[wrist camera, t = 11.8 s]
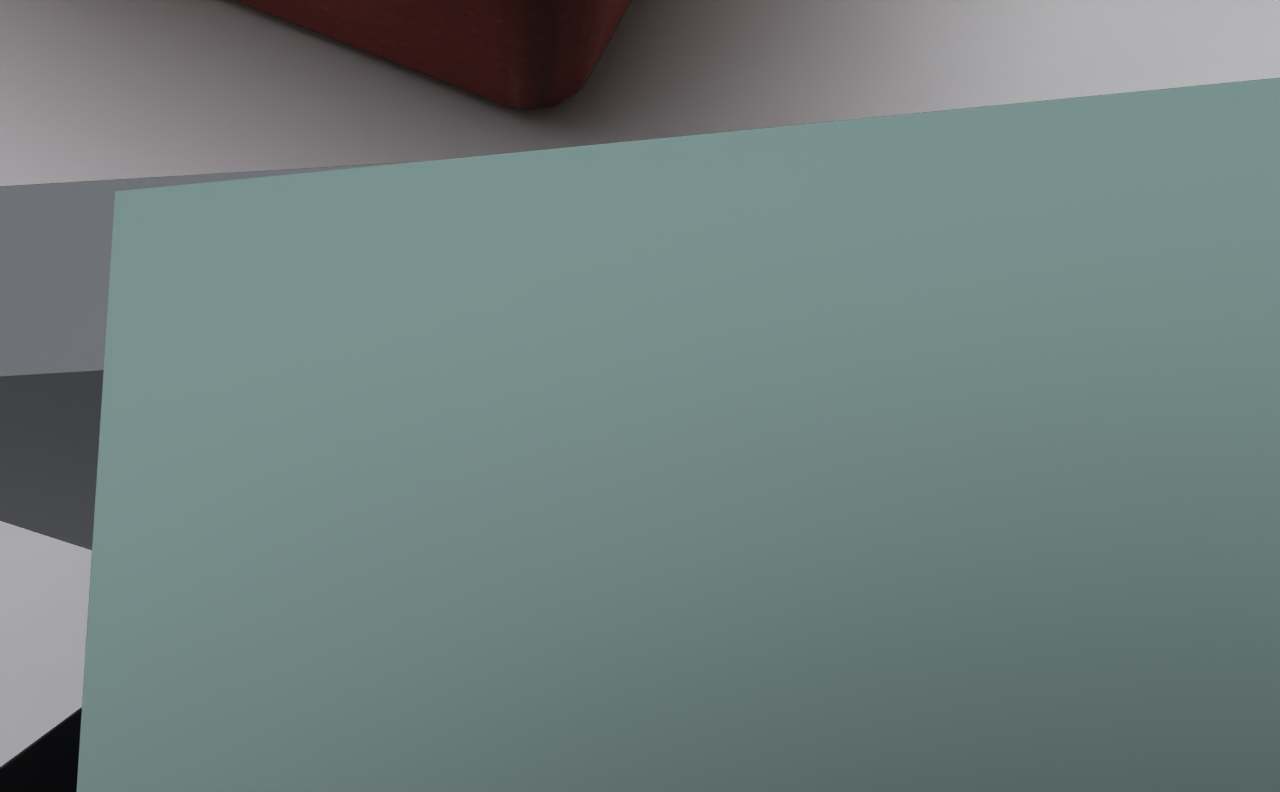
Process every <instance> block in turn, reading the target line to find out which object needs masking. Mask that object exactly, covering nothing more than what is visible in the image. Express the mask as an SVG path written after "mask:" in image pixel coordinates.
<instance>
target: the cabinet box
mask: <svg viewBox="0 0 1280 792" xmlns="http://www.w3.org/2000/svg"><path fill="white" fill-rule="evenodd" d="M77 792H1280V78H1272V79H1261V80H1251V81H1241V82H1231V83H1220V84H1210V85H1200V86H1190V87H1180V88H1169V89H1159V90H1149V91H1139V92H1128V93H1118V94H1108V95H1098V96H1087V97H1077V98H1067V99H1057V100H1046V101H1036V102H1026V103H1016V104H1005V105H995V106H985V107H975V108H965V109H954V110H944V111H934V112H924V113H913V114H903V115H893V116H883V117H872V118H862V119H852V120H842V121H831V122H821V123H811V124H801V125H790V126H780V127H770V128H760V129H750V130H739V131H729V132H719V133H709V134H698V135H688V136H678V137H668V138H657V139H647V140H637V141H627V142H616V143H606V144H596V145H586V146H576V147H565V148H555V149H545V150H535V151H524V152H514V153H504V154H494V155H483V156H473V157H463V158H453V159H442V160H432V161H422V162H412V163H401V164H391V165H381V166H371V167H361V168H350V169H340V170H330V171H320V172H309V173H299V174H289V175H279V176H268V177H258V178H248V179H238V180H227V181H217V182H207V183H197V184H186V185H176V186H166V187H156V188H146V189H135V190H125V191H115V203H114V218H113V234H112V249H111V265H110V280H109V296H108V311H107V327H106V342H105V358H104V373H103V389H102V404H101V420H100V435H99V451H98V466H97V482H96V497H95V513H94V528H93V544H92V559H91V575H90V590H89V606H88V621H87V637H86V652H85V668H84V683H83V699H82V714H81V730H80V745H79V761H78V776H77Z"/></svg>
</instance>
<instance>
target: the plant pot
mask: <svg viewBox="0 0 1280 792" xmlns="http://www.w3.org/2000/svg"><path fill="white" fill-rule="evenodd" d="M236 1H239V2H242V3H244V4H247V5H249V6H252V7H255V8H257V9H260V10H262V11H265V12H267V13H270V14H273V15H275V16H278V17H280V18H283V19H285V20H288V21H290V22H293V23H296V24H298V25H301V26H303V27H306V28H308V29H311V30H314V31H316V32H319V33H321V34H324V35H326V36H329V37H331V38H334V39H337V40H339V41H342V42H344V43H347V44H349V45H352V46H354V47H357V48H360V49H362V50H365V51H367V52H370V53H372V54H375V55H377V56H380V57H383V58H385V59H388V60H391V61H393V62H396V63H399V64H402V65H404V66H407V67H410V68H413V69H415V70H418V71H420V72H423V73H425V74H428V75H430V76H433V77H435V78H438V79H440V80H443V81H445V82H448V83H450V84H453V85H456V86H458V87H461V88H463V89H466V90H468V91H471V92H474V93H476V94H479V95H481V96H484V97H486V98H489V99H492V100H494V101H497V102H499V103H502V104H504V105H507V106H512V107H518V108H524V109H530V110H533V109H540V108H547V107H554V106H556V105H557V104H559V103H560V102H562V101H563V100H565V99H566V98H568V97H569V96H571V95H573V94H574V93H576V92H577V91H578V90H579V89H580V88H581V87H582V86H583V85H584V83H585V82H586V80H587V79H588V77H589V76H590V74H591V73H592V71H593V69H594V67H595V66H596V64H597V62H598V60H599V58H600V57H601V55H602V53H603V51H604V49H605V47H606V46H607V44H608V42H609V40H610V38H611V36H612V35H613V33H614V31H615V29H616V27H617V25H618V24H619V22H620V20H621V18H622V16H623V15H624V13H625V11H626V9H627V8H628V6H629V4H630V2H631V1H632V0H236Z"/></svg>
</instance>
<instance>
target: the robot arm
mask: <svg viewBox="0 0 1280 792" xmlns="http://www.w3.org/2000/svg"><path fill="white" fill-rule="evenodd" d="M81 714H82V707H81V708H80V709H79V710H77V711H76V712H75V713H73V714H72V715H70V716H69V717H68V718H66V719H65V720H64V721H62V722H61V723H60V724H58V725H57V726H56V727H54V728H53V729H52V730H50V731H49V732H47V733H46V734H45V735H43V736H42V737H41V738H39V739H38V740H37V741H35V742H34V743H33V744H31V745H30V746H28V747H27V748H26V749H24V750H23V751H22V752H20V753H19V754H18V755H16V756H15V757H14V758H12V759H11V760H10V761H8V762H7V763H5V764H4V765H3V766H1V767H0V792H77V776H78V761H79V745H80V730H81Z"/></svg>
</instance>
